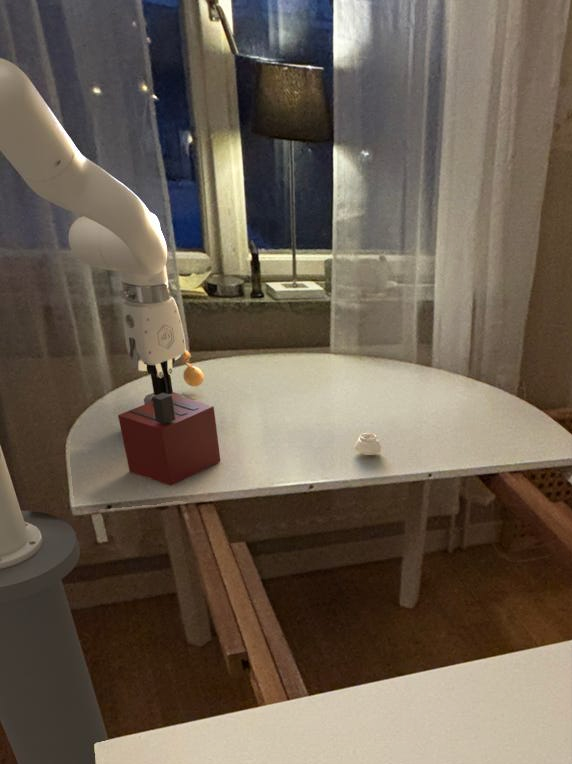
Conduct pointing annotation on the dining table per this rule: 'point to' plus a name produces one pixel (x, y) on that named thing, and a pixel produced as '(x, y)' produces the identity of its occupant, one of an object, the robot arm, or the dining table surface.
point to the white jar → (368, 444)
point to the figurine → (192, 372)
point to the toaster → (170, 441)
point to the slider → (163, 408)
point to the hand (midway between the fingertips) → (163, 395)
